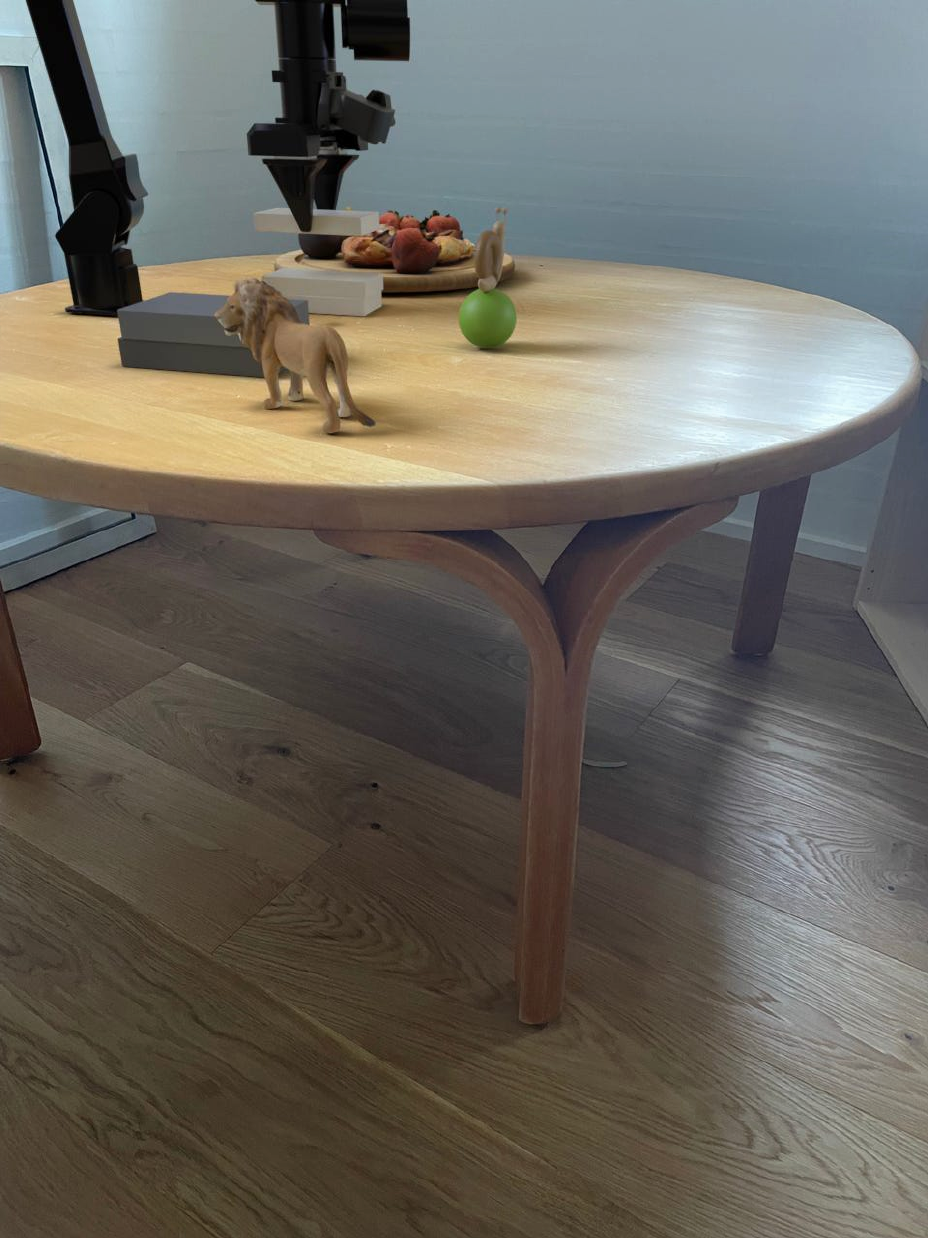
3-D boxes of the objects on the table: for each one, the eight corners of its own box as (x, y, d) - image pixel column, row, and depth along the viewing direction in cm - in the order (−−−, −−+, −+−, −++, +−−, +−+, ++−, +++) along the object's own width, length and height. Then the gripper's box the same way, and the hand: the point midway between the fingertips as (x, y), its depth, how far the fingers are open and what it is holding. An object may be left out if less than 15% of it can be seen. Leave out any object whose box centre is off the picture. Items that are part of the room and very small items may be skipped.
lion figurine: (216, 401, 71) (201, 278, 67) (270, 387, 75) (259, 270, 70) (348, 442, 63) (341, 305, 58) (402, 424, 66) (399, 294, 62)
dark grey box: (121, 366, 80) (111, 309, 78) (174, 343, 88) (166, 291, 85) (271, 378, 77) (266, 319, 75) (313, 353, 85) (309, 299, 82)
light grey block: (262, 310, 102) (258, 275, 101) (284, 300, 108) (281, 267, 106) (366, 316, 100) (364, 281, 98) (383, 306, 105) (382, 272, 103)
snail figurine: (525, 341, 90) (530, 207, 84) (506, 356, 85) (510, 214, 79) (472, 337, 92) (474, 205, 86) (450, 351, 86) (450, 211, 80)
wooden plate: (519, 299, 110) (522, 224, 106) (251, 295, 110) (244, 220, 106) (510, 259, 138) (512, 198, 133) (297, 256, 138) (293, 195, 134)
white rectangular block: (254, 231, 98) (253, 212, 97) (277, 224, 103) (276, 207, 103) (361, 236, 96) (360, 217, 95) (379, 229, 101) (379, 211, 100)
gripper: (351, 55, 82) (358, 242, 90) (411, 63, 98) (413, 222, 106) (236, 54, 85) (253, 237, 92) (313, 63, 101) (322, 218, 108)
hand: (317, 228), depth 100 cm, fingers closed on white rectangular block, 6 cm apart
